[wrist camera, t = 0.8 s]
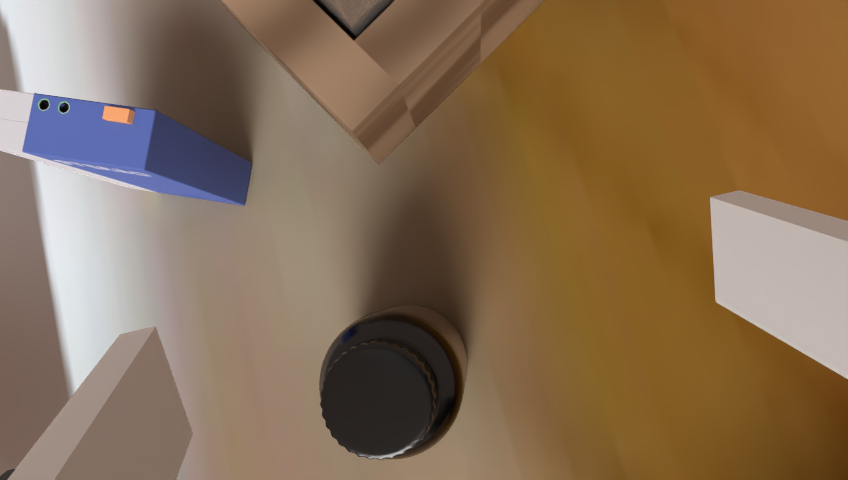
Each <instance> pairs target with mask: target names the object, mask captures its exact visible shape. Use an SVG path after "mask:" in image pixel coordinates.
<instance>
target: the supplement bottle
mask: <svg viewBox="0 0 848 480" xmlns="http://www.w3.org/2000/svg"><path fill="white" fill-rule="evenodd" d="M466 375H467V355H466V350H465V346H464V343H463V341H462V339H461V337H460V335H459V333H458V331H457V330H456V329H455V327H454V326H453V325H452V324H451V323H450V322H449V321H448V320H447V319H446V318H445V317H443V316H442V315H441V314H439V313H437V312H435V311H433V310H431V309H429V308H425V307H422V306H416V305H403V306H397V307H392V308H389V309H386V310H383V311H380V312H377V313H374V314H371V315H368V316H365V317H363V318H361V319H359V320H357V321H355V322H354V323H352V324H351V325H350V326H348V327H347V328H346V329H345V330H343V331H342V332H341V333H340V334H339V335H338V336H337V338H336V339H335V340H334V341H333V343H332V344H331V346H330V348H329V349H328V351H327V353H326V355H325V358H324V361H323V364H322V367H321V373H320V381H319V390H320V398H321V403H320V405H321V408H322V410H323V411H322V416H323V418H324V419H325V421H326V427H327V428H328V429H329V430H330V431H331V435H332V437H334V438H335V439H337V441H338V443H339V445H341V446H344V447H345V448H346V449H347V450H348V451H349V452H352V453H355V454H356V455H358V456H359V457H366V458H368V459H374V458H377V459H380V460H383V459H402V458H407V457H411V456H414V455H417V454H420V453H422V452H424V451H426V450H427V449H429V448H431V447H432V446H434V445H435V444H436V443H437V442H438V441H440V440H441V439H442V438H443V437H444V436H445V434H446V433H447V432H448V431H449V429H450V428H451V426H452V425H453V423H454V421H455V419H456V417H457V415H458V412H459V410H460V406H461V402H462V398H463V393H464V387H465V381H466Z"/></svg>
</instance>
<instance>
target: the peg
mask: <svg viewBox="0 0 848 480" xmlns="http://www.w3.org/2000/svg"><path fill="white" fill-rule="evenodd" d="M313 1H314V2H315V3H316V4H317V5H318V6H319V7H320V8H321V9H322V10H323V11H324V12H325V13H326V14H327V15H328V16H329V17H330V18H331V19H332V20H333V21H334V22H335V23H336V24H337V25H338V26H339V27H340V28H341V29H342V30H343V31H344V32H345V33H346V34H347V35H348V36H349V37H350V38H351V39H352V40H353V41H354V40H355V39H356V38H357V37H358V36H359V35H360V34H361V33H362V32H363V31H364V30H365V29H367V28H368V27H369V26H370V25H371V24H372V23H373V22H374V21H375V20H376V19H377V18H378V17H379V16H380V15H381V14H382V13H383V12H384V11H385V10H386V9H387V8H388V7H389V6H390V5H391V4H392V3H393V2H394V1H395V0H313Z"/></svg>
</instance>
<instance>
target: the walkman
mask: <svg viewBox="0 0 848 480" xmlns="http://www.w3.org/2000/svg"><path fill="white" fill-rule="evenodd" d="M0 151H3V152H7V153H10V154H14V155H17V156H21V157H24V158H28V159H31V160H35V161H38V162H42V163H44V164H47V165H51V166H54V167H58V168H61V169H65V170H68V171H72V172H75V173H79V174H82V175H86V176H89V177H93V178H96V179H100V180H103V181H107V182H110V183H114V184H117V185H121V186H124V187H128V188H133V189H139V190H146V191H152V192H159V193H166V194H172V195H178V196H185V197H191V198H198V199H204V200H211V201H217V202H224V203H230V204H237V205H243V206H244V205H245V201H246V195H247V190H248V184H249V179H250V173H251V167H252V163H251V162H249V161H247V160H245V159H243V158H242V157H240V156H238V155H236V154H234V153H232V152H231V151H229V150H227V149H225V148H223V147H222V146H220V145H218V144H216V143H214V142H212V141H211V140H209V139H207V138H205V137H203V136H202V135H200V134H198V133H196V132H194V131H192V130H191V129H189V128H187V127H185V126H183V125H182V124H180V123H178V122H176V121H174V120H172V119H171V118H169V117H167V116H165V115H163V114H162V113H160V112H158V111H156V110H150V109H143V108H136V107H129V106H122V105H115V104H107V103H100V102H93V101H86V100H79V99H72V98H65V97H58V96H51V95H43V94H36V93H34V94H31V93H24V92H17V91H9V90H2V89H0Z"/></svg>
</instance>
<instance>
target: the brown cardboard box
mask: <svg viewBox="0 0 848 480" xmlns="http://www.w3.org/2000/svg"><path fill="white" fill-rule="evenodd" d="M219 1H220V2H221V3H222V4H223V5H224V6H225V7H226V9H227V10H228V11H229V12H230V13H231V14H232V15H233V16H234V17H235V18H236V20H237V21H238V22H239V23H240V24H241V25H242V26H243V27H244V28H245V30H246V31H247V32H248V33H249V34H250V35H251V36H252V37H253V38H254V39H255V40H256V41H257V42H258V43H259V44H260V45H261V46H262V47H263V48H264V49H265V50H266V51H267V52H268V53H269V54H270V55H271V56H272V57H273V58H274V59H275V60H276V61H277V62H278V63H279V64H280V65H281V66H282V67H283V68H284V69H285V70H286V71H287V72H288V73H289V74H290V75H291V76H292V77H293V78H294V79H295V80H296V81H297V82H298V83H299V84H300V85H301V86H302V87H303V88H304V89H305V90H306V91H307V92H308V93H309V95H310V96H311V97H312V98H313V99H314V100H315V101H316V102H317V103H318V104H319V105H320V106H321V107H322V108H323V109H324V110H325V111H326V112H327V113H328V114H329V115H330V116H331V117H332V118H333V119H334V120H335V121H336V122H337V123H338V124H339V125H340V126H341V127H342V128H343V129H344V130H345V131H346V132H347V133H348V134H349V135H350V136H351V137H352V138H353V139H354V140H355V141H356V142H357V143H358V144H359V145H360V146H361V147H362V148H363V149H364V150H365V151H366V152H367V153H368V154H369V155H370V156H371V157H372V158H373V159H374V160H375V161H376V162H377V163H378V164H380V163H381V162H382V161H383V160H384V159H385V158H386V157H387V156H388V155H389V154H390V153H391V152H392V151H393V150H394V149H395V148H396V147H397V146H398V145H399V144H400V143H401V142H402V141H403V140H404V139H405V138H406V137H407V136H408V135H409V134H410V133H411V132H412V131H413V130H414V129H415V128H416V127H417V126H418V125H419V124H420V123H421V122H422V121H423V120H424V119H425V118H426V117H427V116H428V115H429V114H430V113H431V112H432V111H433V110H434V109H435V108H436V107H437V106H438V105H439V104H440V103H441V102H442V101H443V100H444V99H446V98H447V97H448V96H449V95H450V94H451V93H452V92H453V91H454V90H455V89H456V88H457V87H458V86H459V85H460V84H461V83H462V82H463V81H464V80H465V79H466V78H467V77H468V76H469V75H470V74H471V73H472V72H473V71H474V70H475V69H476V68H477V67H478V66H479V65H480V64H481V63H482V62H483V61H484V60H485V59H486V58H487V57H488V56H489V55H490V54H491V53H492V52H493V51H494V50H495V49H496V48H497V47H498V46H499V45H500V44H501V43H502V42H503V41H504V40H505V39H506V38H507V37H508V36H509V35H510V34H511V33H512V32H513V31H514V30H515V29H516V28H517V27H518V26H519V25H520V24H521V23H522V22H523V21H524V20H525V19H526V18H527V17H528V16H529V15H530V14H532V13H533V12H534V11H535V10H536V9H537V8H538V7H539V6H540V5H541V4H542V3H543V2H544V1H545V0H395V1H394V2H393V3H392V4H391V5H390V6H389V7H388V8H387V9H386V10H385V11H384V12H383V13H382V14H381V15H380V16H379V17H378V18H377V19H376V20H375V21H374V22H373V23H372V24H371V25H370V26H369V27H368V28H367V29H365V30H364V31H363V32H362V33H361V34H360V35H359V36H358V37H357V38H356V39H355V40H354V41H353V40H352V39H351V38H350V37H349V36H348V35H347V34H346V33H345V32H344V31H343V30H342V29H341V28H340V27H339V26H338V25H337V24H336V23H335V22H334V21H333V20H332V19H331V18H330V17H329V16H328V15H327V14H326V13H325V12H324V11H323V10H322V9H321V8H320V7H319V6H318V5H317V4H316V3H315V2H314V1H313V0H219Z"/></svg>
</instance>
